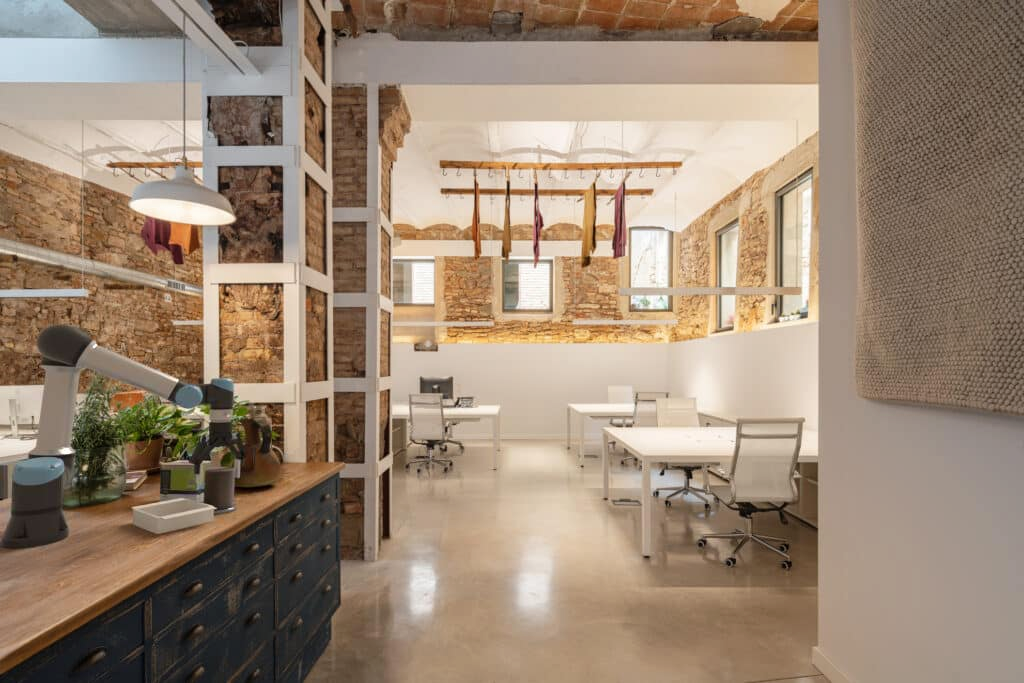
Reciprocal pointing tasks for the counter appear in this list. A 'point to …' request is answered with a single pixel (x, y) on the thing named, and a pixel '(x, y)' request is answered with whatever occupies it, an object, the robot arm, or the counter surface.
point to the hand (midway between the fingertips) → (218, 480)
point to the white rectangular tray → (172, 515)
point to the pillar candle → (219, 487)
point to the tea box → (181, 481)
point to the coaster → (226, 510)
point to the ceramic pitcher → (258, 456)
